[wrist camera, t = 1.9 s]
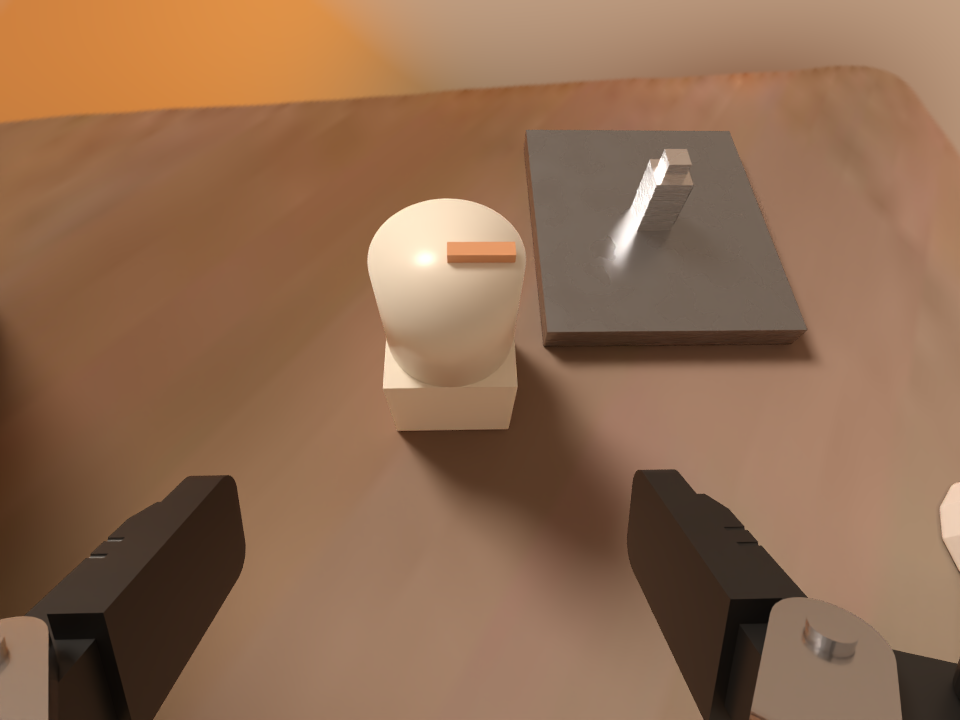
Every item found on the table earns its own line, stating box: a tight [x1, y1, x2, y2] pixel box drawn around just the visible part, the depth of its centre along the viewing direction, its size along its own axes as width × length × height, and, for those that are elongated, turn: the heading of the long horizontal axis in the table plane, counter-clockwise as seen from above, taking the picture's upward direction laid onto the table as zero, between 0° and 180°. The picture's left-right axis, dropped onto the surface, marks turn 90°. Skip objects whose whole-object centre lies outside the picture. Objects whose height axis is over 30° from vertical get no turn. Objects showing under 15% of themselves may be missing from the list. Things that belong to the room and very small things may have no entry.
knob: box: [368, 199, 526, 431], centre depth 22 cm, size 6×6×10 cm
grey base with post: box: [524, 130, 807, 346], centre depth 29 cm, size 14×16×6 cm
